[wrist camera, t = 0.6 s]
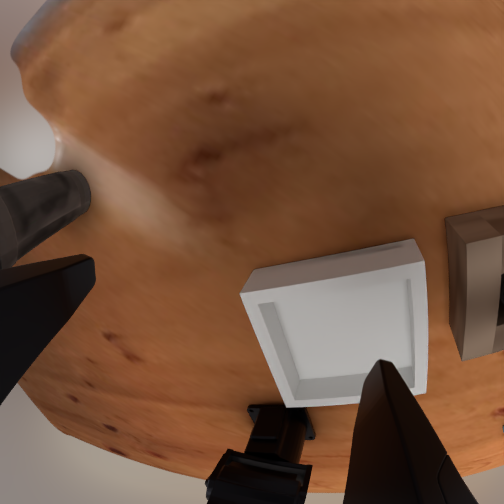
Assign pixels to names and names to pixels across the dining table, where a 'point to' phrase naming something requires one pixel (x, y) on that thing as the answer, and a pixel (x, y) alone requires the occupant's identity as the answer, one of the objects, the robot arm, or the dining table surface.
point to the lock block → (476, 281)
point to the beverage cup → (38, 211)
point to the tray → (341, 321)
